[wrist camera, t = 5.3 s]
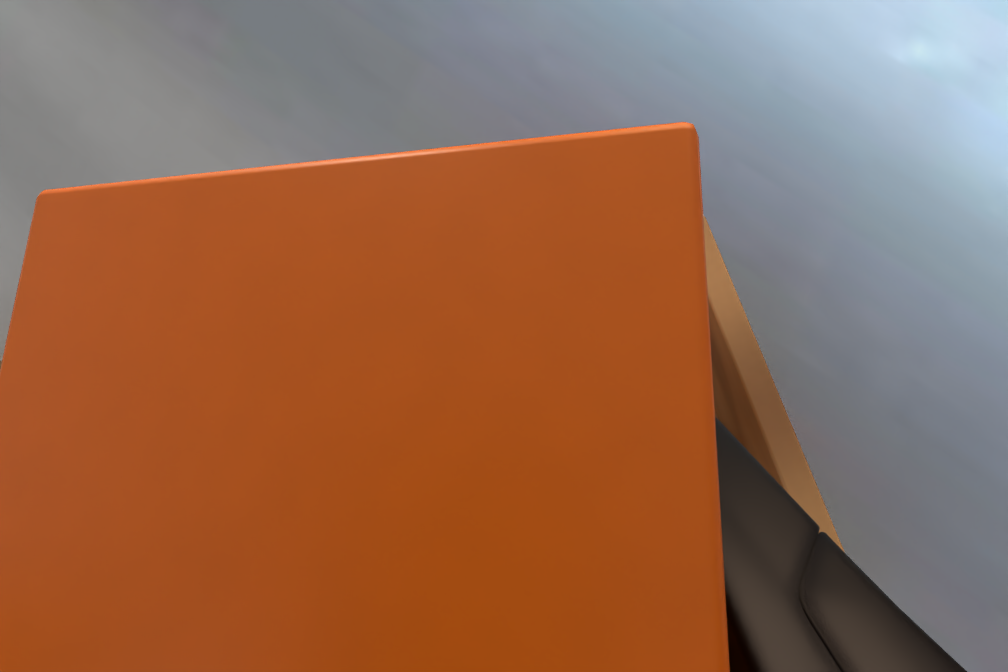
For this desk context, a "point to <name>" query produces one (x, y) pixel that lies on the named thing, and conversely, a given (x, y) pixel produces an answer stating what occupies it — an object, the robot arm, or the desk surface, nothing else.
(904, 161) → the desk surface
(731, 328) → the wooden box
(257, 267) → the orange square pillar
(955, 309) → the desk surface
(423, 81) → the desk surface
